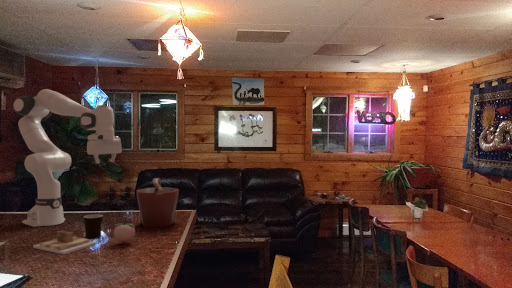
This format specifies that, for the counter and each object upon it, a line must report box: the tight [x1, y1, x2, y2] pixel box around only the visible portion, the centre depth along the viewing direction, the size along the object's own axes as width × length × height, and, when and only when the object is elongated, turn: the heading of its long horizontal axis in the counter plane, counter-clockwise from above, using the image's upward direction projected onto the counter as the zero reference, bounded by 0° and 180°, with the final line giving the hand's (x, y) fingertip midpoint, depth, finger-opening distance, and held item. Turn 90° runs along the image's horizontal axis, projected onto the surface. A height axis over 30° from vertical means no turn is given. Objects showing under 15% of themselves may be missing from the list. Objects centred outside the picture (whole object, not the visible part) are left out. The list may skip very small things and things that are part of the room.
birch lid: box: [39, 230, 91, 250], centre depth 171 cm, size 14×14×5 cm
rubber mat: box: [32, 240, 97, 255], centre depth 171 cm, size 20×16×1 cm
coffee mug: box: [83, 213, 104, 240], centre depth 188 cm, size 12×9×10 cm
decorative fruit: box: [113, 221, 136, 244], centre depth 175 cm, size 9×8×10 cm
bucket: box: [136, 177, 180, 228], centre depth 214 cm, size 24×22×25 cm
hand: (105, 162), depth 205 cm, fingers open, 8 cm apart
